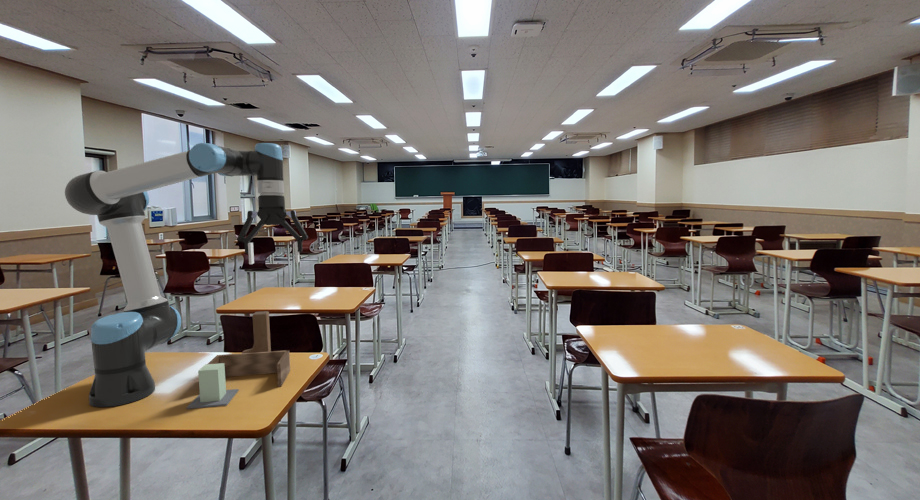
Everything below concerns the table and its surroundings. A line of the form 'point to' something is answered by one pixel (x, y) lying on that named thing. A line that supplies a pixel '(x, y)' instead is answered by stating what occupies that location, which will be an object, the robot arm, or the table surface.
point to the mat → (222, 402)
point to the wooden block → (260, 333)
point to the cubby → (256, 364)
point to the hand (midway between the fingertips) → (274, 263)
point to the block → (212, 382)
